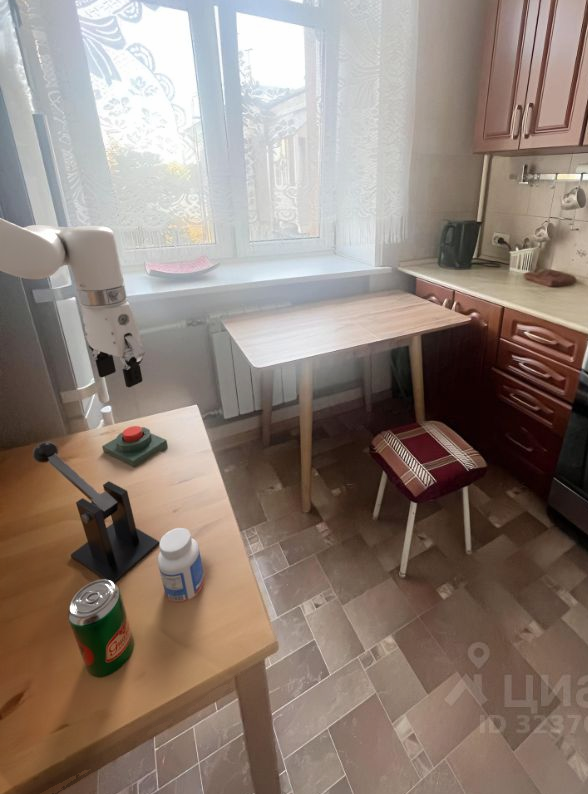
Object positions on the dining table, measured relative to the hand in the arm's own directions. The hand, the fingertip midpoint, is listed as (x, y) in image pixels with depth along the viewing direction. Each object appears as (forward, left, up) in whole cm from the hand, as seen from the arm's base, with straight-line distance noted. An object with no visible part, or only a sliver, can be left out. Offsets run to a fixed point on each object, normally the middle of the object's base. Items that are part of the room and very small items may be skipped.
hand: (120, 378), depth 79 cm
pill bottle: (+34, -17, -18) cm, 42 cm away
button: (0, 0, -14) cm, 14 cm away
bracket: (+20, -18, -18) cm, 32 cm away
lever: (+13, -18, -7) cm, 23 cm away
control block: (0, 0, -18) cm, 18 cm away
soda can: (+34, -28, -18) cm, 48 cm away
